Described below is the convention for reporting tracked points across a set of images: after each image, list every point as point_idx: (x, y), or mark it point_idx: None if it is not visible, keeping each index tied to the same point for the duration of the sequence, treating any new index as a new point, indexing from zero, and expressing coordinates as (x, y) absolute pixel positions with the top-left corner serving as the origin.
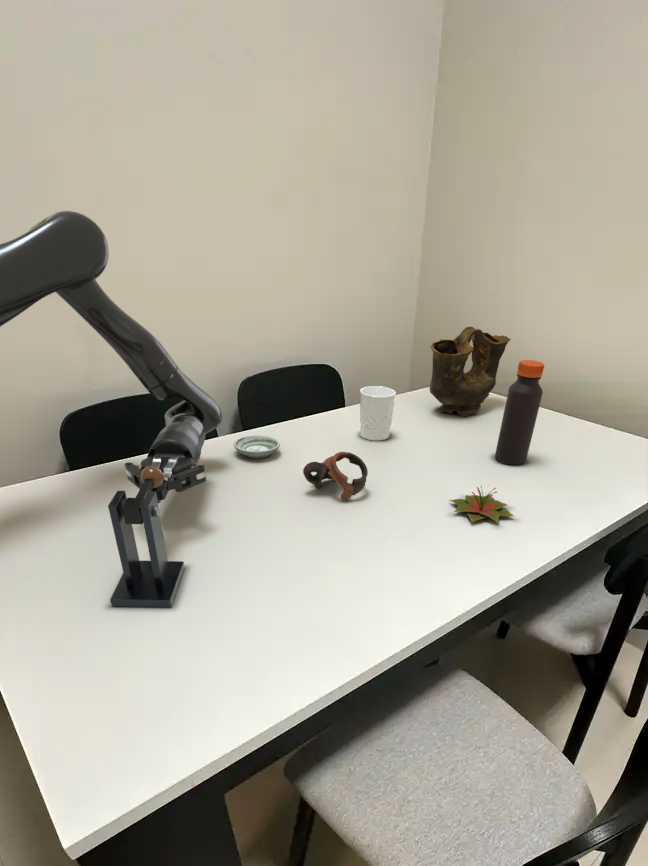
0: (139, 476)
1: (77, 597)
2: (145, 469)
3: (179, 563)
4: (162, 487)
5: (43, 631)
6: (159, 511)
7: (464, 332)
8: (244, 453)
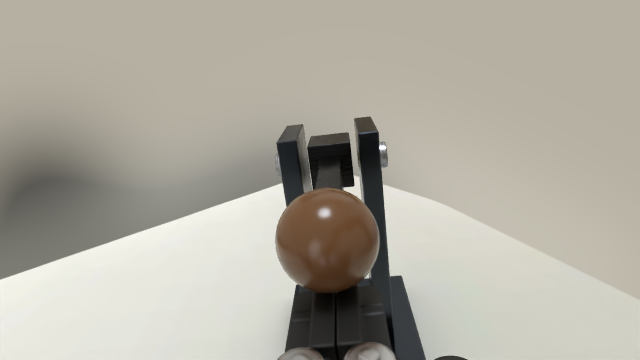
0: (458, 357)
1: (482, 300)
2: (342, 190)
3: None
4: (303, 316)
5: (473, 246)
6: (277, 173)
7: None
8: None
